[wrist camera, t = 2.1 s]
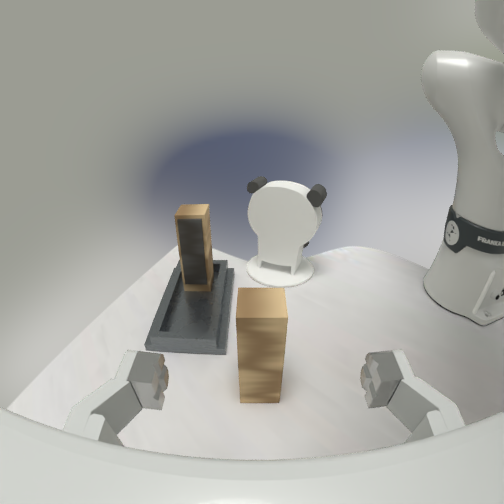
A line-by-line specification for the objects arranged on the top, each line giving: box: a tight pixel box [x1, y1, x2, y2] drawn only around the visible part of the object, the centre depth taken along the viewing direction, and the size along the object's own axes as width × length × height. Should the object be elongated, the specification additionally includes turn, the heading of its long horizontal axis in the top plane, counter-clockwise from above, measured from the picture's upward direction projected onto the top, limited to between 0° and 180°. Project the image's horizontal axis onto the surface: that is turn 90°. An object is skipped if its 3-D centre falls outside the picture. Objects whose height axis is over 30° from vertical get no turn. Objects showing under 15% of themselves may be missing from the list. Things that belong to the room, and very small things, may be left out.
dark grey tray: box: [144, 260, 234, 355], centre depth 43 cm, size 10×18×2 cm, turn 179°
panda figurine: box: [247, 177, 327, 288], centre depth 49 cm, size 12×11×15 cm
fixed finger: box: [175, 204, 214, 292], centre depth 44 cm, size 4×4×12 cm
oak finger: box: [236, 288, 288, 403], centre depth 28 cm, size 4×4×12 cm
